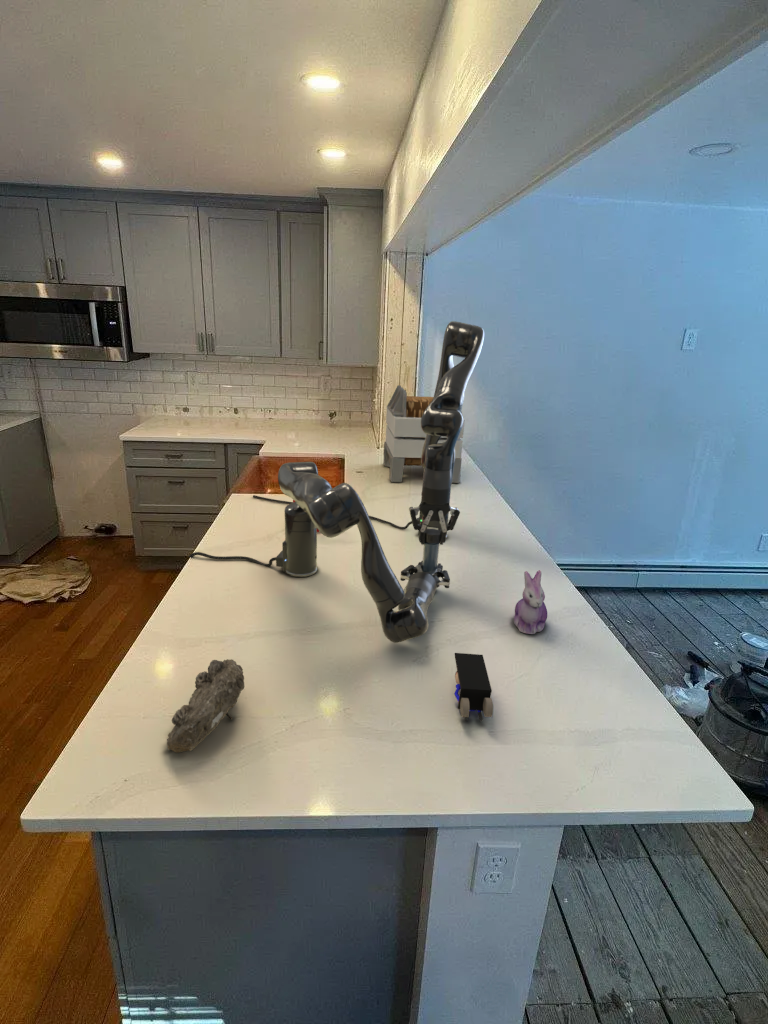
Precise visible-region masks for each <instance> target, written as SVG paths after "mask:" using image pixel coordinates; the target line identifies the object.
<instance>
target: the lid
mask: <svg viewBox="0 0 768 1024" xmlns="http://www.w3.org/2000/svg"><path fill="white" fill-rule="evenodd" d="M425 541H426V542H428V543H438V542H440V541H441V531H439V530H437V529H426V530H425Z"/></svg>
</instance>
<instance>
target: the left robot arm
mask: <svg viewBox="0 0 768 1024" xmlns="http://www.w3.org/2000/svg"><path fill="white" fill-rule="evenodd" d="M277 482H278V486H279V489H280V491H281V493H282V494H284V495H285V496H286V497H289V498H291V499H292V502H293V500H294V501H295V502H293V503H290V504H286V505H285V508H284V540H283V541H282V544H281V545H282V546H281V547H282V548H281V549H282V550H281V551H280V552H279V553H278V554H277V555H276V556H275V557H271V558H270V559H269V561H268V563H264V562H261V561H260V560H258V559H256V558H252V557H249V556H239V555H238V556H237V555H233V556H232V555H231V556H219V555H218V556H216V555H211V554H208V553H205V552H201V551H195V552H192V553H190V554H189V555H188V558H193V557H195V556H202V557H204V558H208V559H210V560H218V561H219V560H222V561H223V560H243V561H244V560H245V561H250V562H252V563H254V564H257V565H261V566H263V567H265V568H266V567H268V568H269V567H271V566H272V565H273V562H274V561H275V567H277V568H278V567H279V568H282V572H283V573H285V574H287V575H289V576H290V577H291V576H292V577H297V578H298V577H299V578H305V577H310V576H313V575H315V574H316V573H317V572H318V550H317V549H318V538H317V537H318V532H317V529H318V530H319V533H320V534H322V535H323V537H326V538H328V539H333V538H336V537H339V536H340V535H342V534H343V533H345V532H347V531H348V530H350V529H351V528H353V527H354V526H357V529H358V531H359V532H358V533H359V535H360V540H361V556H360V557H361V560H360V574H361V579H362V582H363V585H364V587H365V588H366V590H367V592H368V593H369V595H370V597H371V599H372V601H373V603H374V604H375V606H376V609H377V612H378V616H379V619H380V623H381V624H380V625H381V628H382V632H383V634H384V636H385V638H386V639H387V640H388V641H390V642H392V643H394V644H395V643H396V644H397V643H401V642H405V641H408V640H410V639H411V640H412V639H415V638H419V637H421V636H423V635H424V634H426V632H427V631H428V629H429V619H428V610H429V607H430V605H431V604H432V602H433V600H434V595H435V594H436V591H437V588H439V587H440V586H443V587H444V588H445V589H450V582H451V578H450V576H449V572H448V570H445V569H443V568H444V566H443V564H442V563H438V564H437V569H436V570H433V571H431V572H430V573H427V572H422V563H423V560H421V561H419V562H418V563H417V565H413V564H409V565H408V566H407V567H405V568H404V569H402V570H401V571H400V577H399V578H400V579H399V580H400V581H401V582H404V581H406V580H407V583H406V585H405V587H404V589H403V587H402V585H401V582H400V581H399V580H398V578H397V576H396V574H395V573H394V571H393V569H392V567H391V565H390V563H389V561H388V559H387V557H386V555H385V552H384V550H383V547H382V545H381V542H380V540H379V539H380V538H379V537H378V534H377V532H376V530H375V528H374V527H375V526H374V525H373V522H372V519H371V518H369V516H370V515H369V513H368V511H367V509H366V507H365V504H364V502H363V501H362V499H361V497H360V495H359V494H358V493H357V491H356V490H355V488H354V487H352V485H350V484H349V483H347V482H342V483H339V484H338V485H335V486H334V487H332V484H331V483H330V482H329V481H328V480H327V479H325V478H324V477H323V476H321V475H319V470H318V466H317V464H316V463H315V462H313V461H293V462H292V461H291V462H285V463H282V464H281V466H280V467H279V469H278V473H277ZM440 579H441V580H440ZM396 607H397V610H394V609H395V608H396Z"/></svg>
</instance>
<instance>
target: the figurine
mask: <svg viewBox="0 0 768 1024" xmlns="http://www.w3.org/2000/svg"><path fill="white" fill-rule="evenodd" d="M523 575H524V588H523V590H522V596H521V597H522V598H521V599H519V600H518V601H517V602H516V604H515V607H514V615H513V623H514V626H515V627H516V628H517V629H518V631H519V632H520V633H523V634H529V635H535V634H536V633H540V632H542V631H543V630H544V628H545V625H546V621H547V620H548V610H547V606H546V604H545V602H544V601H545V598H546V594H545V592H544V588H543V586H542V583H541V581H542V570H541V569H538V570H537V571H536V572H535V575H534V577H532V576H531V574H530V573H529V572H528V571H527V570H525V571H524V573H523Z"/></svg>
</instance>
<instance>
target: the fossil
mask: <svg viewBox="0 0 768 1024" xmlns="http://www.w3.org/2000/svg"><path fill="white" fill-rule="evenodd" d="M243 670H244V669H243V667H242V665H240V664H237V662H236V661H235V660H234V659H232V658H231V659H227V658H226V659H224V660H223V661H222V660H217V659H212V660H211V661H210V663H209V665H208V666H207V671H201V672H199V673H198V674H197V675H196V676H195V680H194V684H195V685H194V687H195V689H194V690H193V693H192V694H191V697H190V698H189V700H188V704H184V705H182V706H181V707H180V709H177V710H176V711H175V713H174V715H173V716H172V718H171V723H172V724H173V727H172V730H171V731H170V732H168V734H167V738H166V741H167V742H166V745H167V749H168V750H169V751H173V752H174V753H176V754H178V753H182V752H188V751H189V752H192V751H193V750H195V748H196V747H197V746H199V744H200V743H201V742H203V741H204V740H205V739H206V738H207V737H208V736H209V735H210V734H211V733H212V732H214V730H215V729H217V727H218V726H219V724H220V722H221V721H222V720H223V719H224V718H225V716H226V717H227V719H229V720H233V717H232V715H230V714H229V710H230V709H231V708H234V706H235V704H236V703H237V702H238V699H239V697H240V695H241V693H242V691H243V690H245V689H244V688H245V675H244V671H243Z"/></svg>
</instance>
